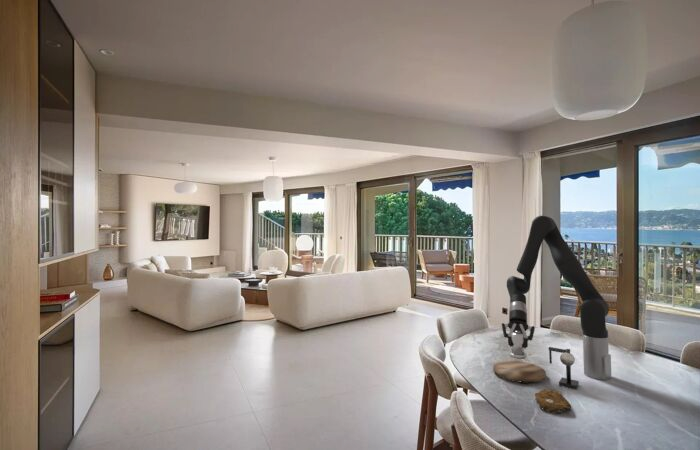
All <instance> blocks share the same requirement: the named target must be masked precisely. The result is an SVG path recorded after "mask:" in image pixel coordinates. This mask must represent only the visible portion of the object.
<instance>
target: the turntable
mask: <svg viewBox="0 0 700 450" xmlns="http://www.w3.org/2000/svg"><path fill="white" fill-rule="evenodd" d="M492 367H493V372H494V373H495V375H498V376H499V377H501V378H503V377H504V378H503V379H505V378H506V379H505V380H508V379H510V380H509V381H511V380H514V381H513V382H515V381H521V382H520V383H522V382H533V383H538V382H542V381H544V380H545V379H546V378H547V372H546V370H545V369H544V368H543V367H541V366H539V365H536V364H533V363H529V362H526V361H521V360H501V361H497V362H495V363H494V364H493V366H492Z"/></svg>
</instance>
